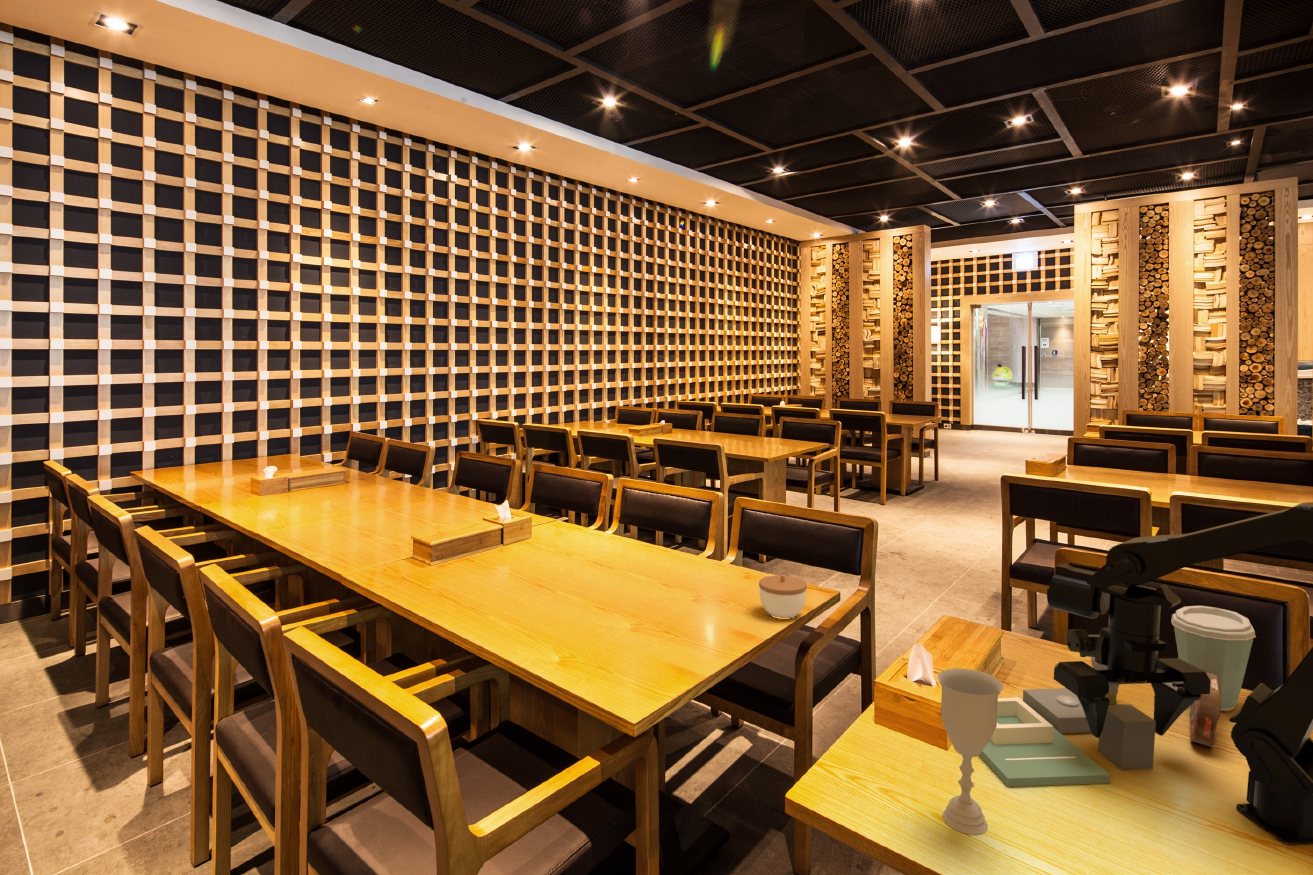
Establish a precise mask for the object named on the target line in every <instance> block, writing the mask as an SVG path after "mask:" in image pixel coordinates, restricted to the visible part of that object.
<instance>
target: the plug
mask: <svg viewBox="0 0 1313 875" xmlns="http://www.w3.org/2000/svg"><path fill="white" fill-rule="evenodd" d="M1155 728H1156V721H1155V720H1154V718H1152V717H1150V716H1149V715H1147V714H1146V713H1145V712H1143V711H1141V710H1140V709H1138V708H1137V707H1135V706H1134V705H1132V704H1111V705H1109V707H1108V711H1107V714H1106V719H1105V723H1104V727H1103V731H1102V733H1101V735H1100V738H1098V746H1097V752H1098V753H1099V754H1101V755H1102V756H1103V757H1104V758H1106V759H1107V760H1108V761H1109V762H1111V764H1113V765H1114V766H1116V767H1117V768H1118V769H1119V770H1121V771H1133V770H1137V771H1138V770H1153V769H1154V754H1155V741H1156V740H1155V739H1156V733H1155Z"/></svg>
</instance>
